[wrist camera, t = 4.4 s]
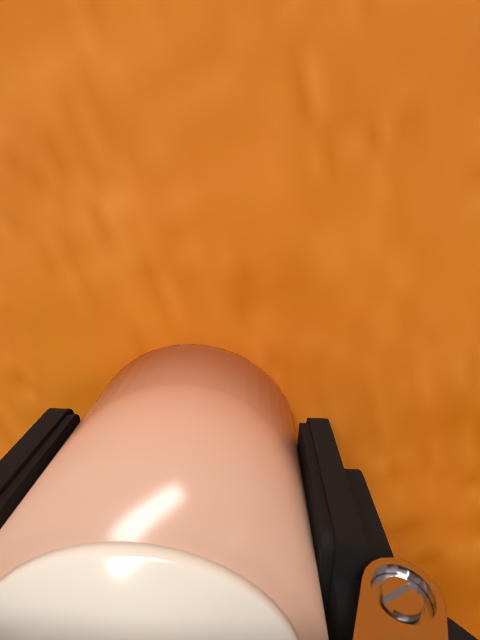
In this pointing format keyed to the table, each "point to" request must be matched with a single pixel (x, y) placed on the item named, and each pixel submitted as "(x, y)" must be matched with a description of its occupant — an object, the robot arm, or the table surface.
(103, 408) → the tumbler
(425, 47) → the table surface
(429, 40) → the table surface
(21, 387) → the table surface
